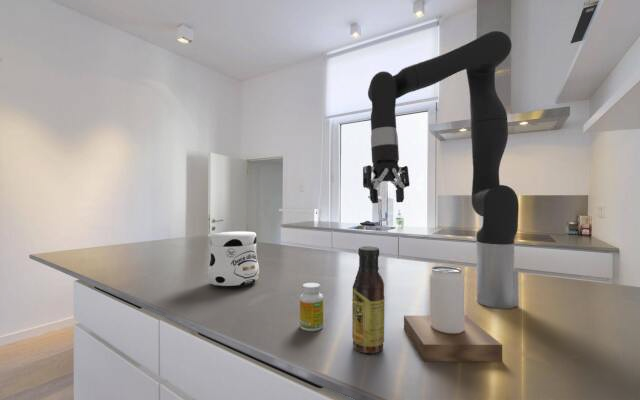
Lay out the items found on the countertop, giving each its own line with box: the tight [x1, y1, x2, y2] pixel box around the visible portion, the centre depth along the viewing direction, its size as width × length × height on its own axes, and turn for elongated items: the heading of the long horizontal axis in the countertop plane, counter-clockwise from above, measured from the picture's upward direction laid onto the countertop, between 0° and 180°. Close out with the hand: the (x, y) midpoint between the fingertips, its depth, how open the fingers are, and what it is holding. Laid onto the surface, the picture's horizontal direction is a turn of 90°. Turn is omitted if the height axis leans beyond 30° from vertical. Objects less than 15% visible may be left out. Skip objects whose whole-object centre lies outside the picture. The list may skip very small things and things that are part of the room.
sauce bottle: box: [351, 245, 386, 354], centre depth 60 cm, size 7×6×20 cm
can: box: [429, 265, 466, 334], centre depth 62 cm, size 6×6×12 cm
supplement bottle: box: [299, 282, 324, 332], centre depth 70 cm, size 5×5×10 cm
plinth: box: [403, 315, 503, 363], centre depth 61 cm, size 14×14×3 cm
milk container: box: [207, 231, 260, 289], centre depth 107 cm, size 17×17×18 cm
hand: (387, 202), depth 86 cm, fingers open, 8 cm apart
